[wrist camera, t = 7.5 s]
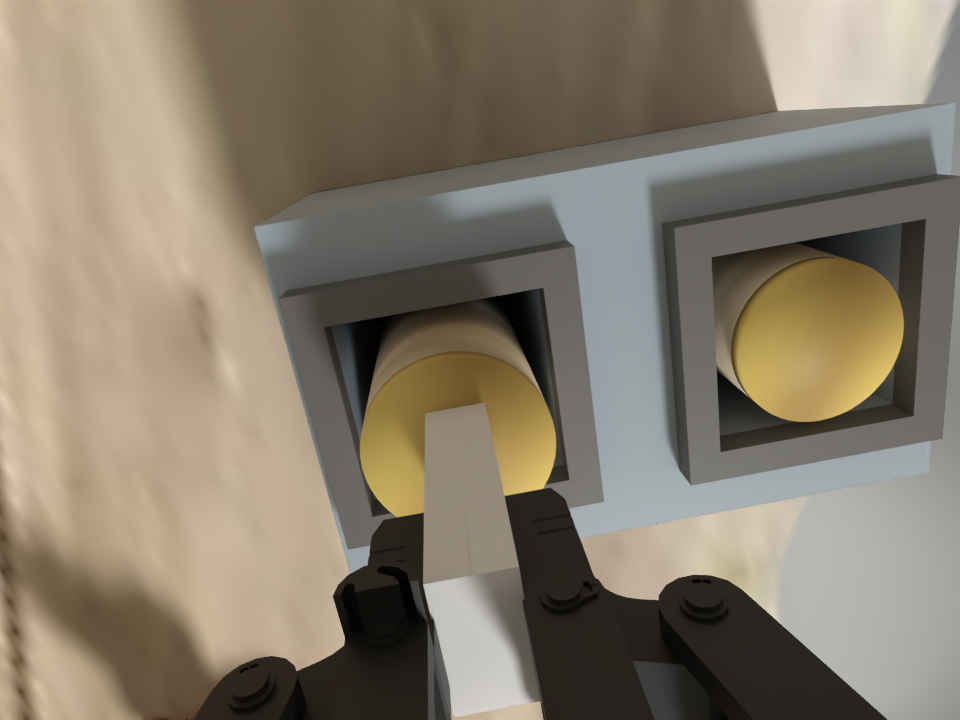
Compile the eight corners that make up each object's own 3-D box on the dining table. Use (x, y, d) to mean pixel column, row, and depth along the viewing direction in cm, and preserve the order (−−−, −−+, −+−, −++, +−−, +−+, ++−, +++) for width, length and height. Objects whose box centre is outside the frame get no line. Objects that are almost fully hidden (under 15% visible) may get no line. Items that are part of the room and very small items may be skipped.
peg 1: (397, 408, 27) (383, 550, 18) (369, 288, 25) (339, 377, 16) (519, 386, 27) (567, 515, 18) (500, 264, 25) (542, 340, 16)
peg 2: (644, 341, 29) (740, 435, 20) (634, 228, 28) (735, 276, 19) (755, 321, 29) (899, 405, 20) (752, 207, 28) (908, 245, 19)
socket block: (373, 447, 32) (348, 601, 22) (311, 193, 28) (244, 232, 17) (781, 372, 32) (949, 487, 22) (778, 110, 28) (983, 101, 18)
